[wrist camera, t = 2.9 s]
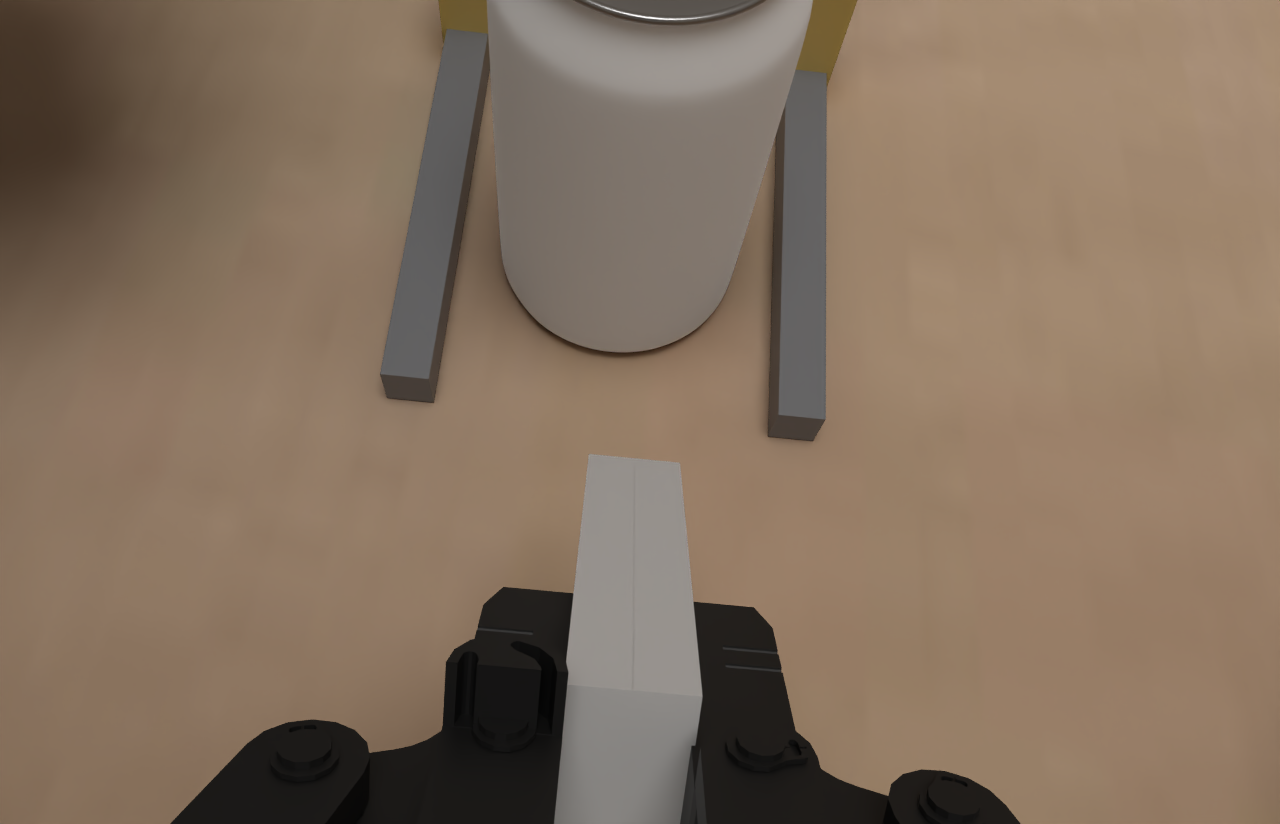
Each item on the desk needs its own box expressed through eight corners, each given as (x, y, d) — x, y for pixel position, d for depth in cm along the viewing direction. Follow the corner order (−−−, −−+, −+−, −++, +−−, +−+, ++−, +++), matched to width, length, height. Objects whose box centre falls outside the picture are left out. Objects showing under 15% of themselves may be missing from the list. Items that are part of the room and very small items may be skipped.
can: (468, 201, 31) (429, -179, 20) (674, 138, 32) (742, -248, 22) (553, 393, 29) (561, 82, 18) (770, 316, 30) (899, -14, 19)
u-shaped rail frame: (352, 394, 28) (316, 296, 24) (458, -126, 36) (446, -274, 32) (846, 444, 29) (903, 358, 24) (843, -79, 37) (886, -217, 32)
